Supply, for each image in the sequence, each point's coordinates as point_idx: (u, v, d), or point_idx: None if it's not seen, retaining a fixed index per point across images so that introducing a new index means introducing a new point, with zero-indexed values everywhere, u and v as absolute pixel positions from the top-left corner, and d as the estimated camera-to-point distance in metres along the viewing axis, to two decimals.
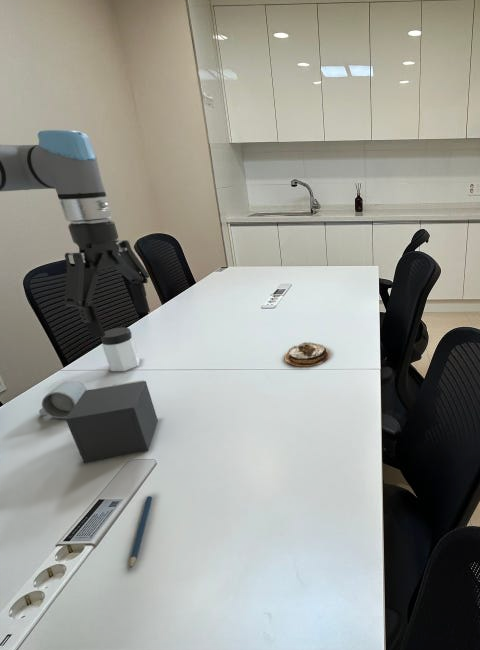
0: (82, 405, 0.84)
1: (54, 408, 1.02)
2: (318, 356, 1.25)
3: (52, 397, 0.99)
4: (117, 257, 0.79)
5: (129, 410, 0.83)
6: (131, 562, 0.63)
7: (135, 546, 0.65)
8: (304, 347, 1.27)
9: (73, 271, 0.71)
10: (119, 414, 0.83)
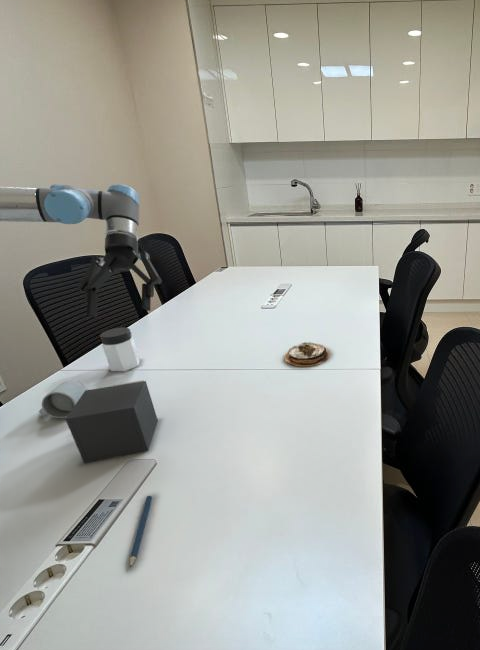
0: (82, 405, 0.84)
1: (54, 408, 1.02)
2: (318, 356, 1.25)
3: (52, 397, 0.99)
4: None
5: (129, 410, 0.83)
6: (131, 561, 0.63)
7: (135, 545, 0.65)
8: (304, 347, 1.27)
9: (150, 262, 1.03)
10: (119, 414, 0.83)
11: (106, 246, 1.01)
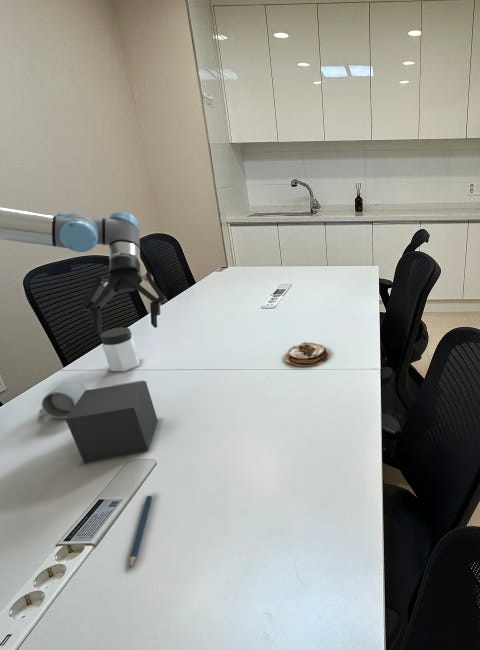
0: (82, 405, 0.84)
1: (54, 408, 1.02)
2: (318, 356, 1.25)
3: (52, 397, 0.99)
4: None
5: (129, 410, 0.83)
6: (130, 561, 0.63)
7: (135, 545, 0.65)
8: (304, 347, 1.27)
9: None
10: (119, 414, 0.83)
11: (112, 268, 1.07)
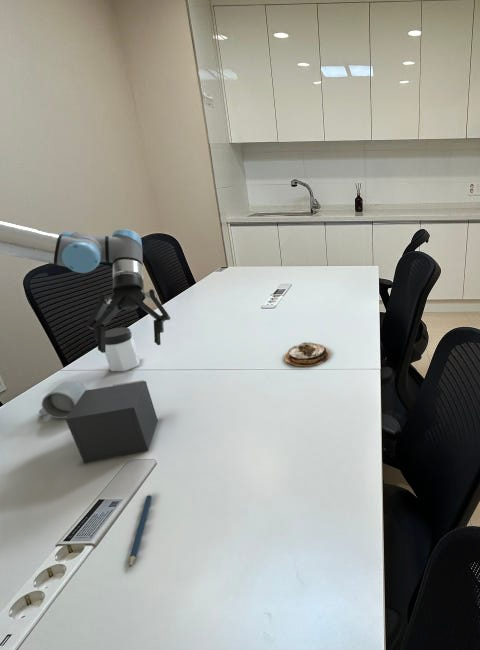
0: (82, 405, 0.84)
1: (54, 408, 1.02)
2: (318, 356, 1.25)
3: (52, 397, 0.99)
4: None
5: (129, 410, 0.83)
6: (130, 561, 0.63)
7: (134, 545, 0.65)
8: (304, 347, 1.27)
9: None
10: (119, 414, 0.83)
11: (115, 286, 1.07)
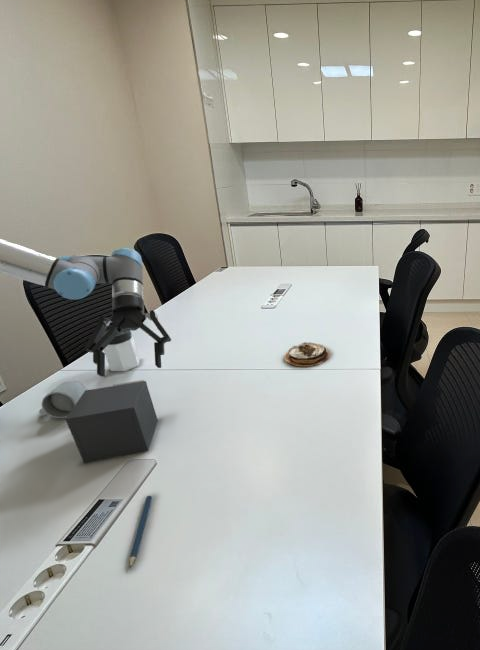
0: (82, 405, 0.84)
1: (54, 408, 1.02)
2: (318, 356, 1.25)
3: (52, 397, 0.99)
4: None
5: (129, 410, 0.83)
6: (130, 562, 0.63)
7: (134, 546, 0.65)
8: (304, 347, 1.27)
9: None
10: (119, 414, 0.83)
11: (115, 307, 1.05)
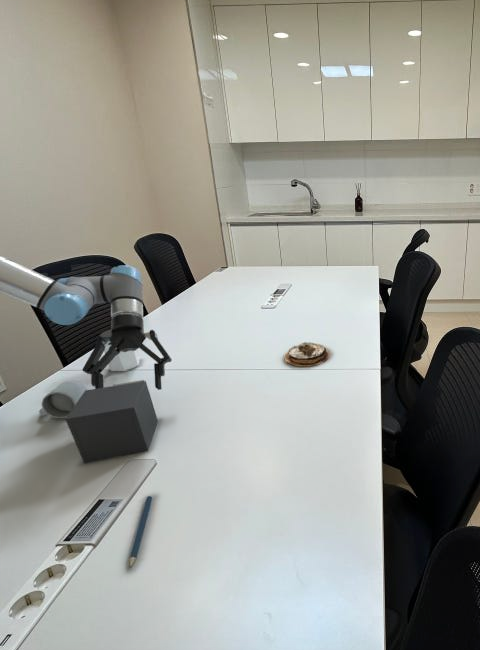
0: (82, 405, 0.84)
1: (54, 408, 1.02)
2: (318, 356, 1.25)
3: (52, 397, 0.99)
4: None
5: (129, 410, 0.83)
6: (130, 562, 0.63)
7: (135, 546, 0.65)
8: (304, 347, 1.27)
9: (158, 341, 1.06)
10: (119, 414, 0.83)
11: (114, 327, 1.02)
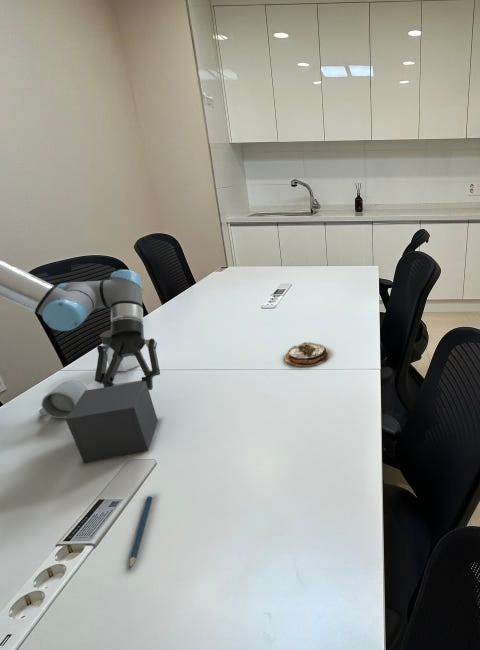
0: (82, 405, 0.84)
1: (54, 408, 1.02)
2: (318, 356, 1.25)
3: (52, 397, 0.99)
4: None
5: (129, 410, 0.83)
6: (130, 562, 0.63)
7: (134, 546, 0.65)
8: (304, 347, 1.27)
9: (155, 351, 1.04)
10: (119, 414, 0.83)
11: (113, 332, 1.01)
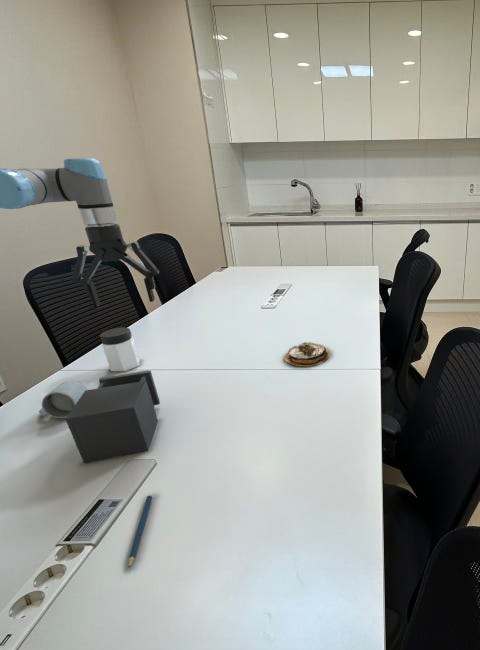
0: (82, 405, 0.84)
1: (54, 408, 1.02)
2: (318, 356, 1.25)
3: (52, 397, 0.99)
4: None
5: (129, 410, 0.83)
6: (129, 562, 0.62)
7: (134, 546, 0.65)
8: (304, 347, 1.27)
9: (142, 253, 1.04)
10: (119, 414, 0.83)
11: (92, 241, 0.97)
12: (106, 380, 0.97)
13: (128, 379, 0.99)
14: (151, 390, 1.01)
